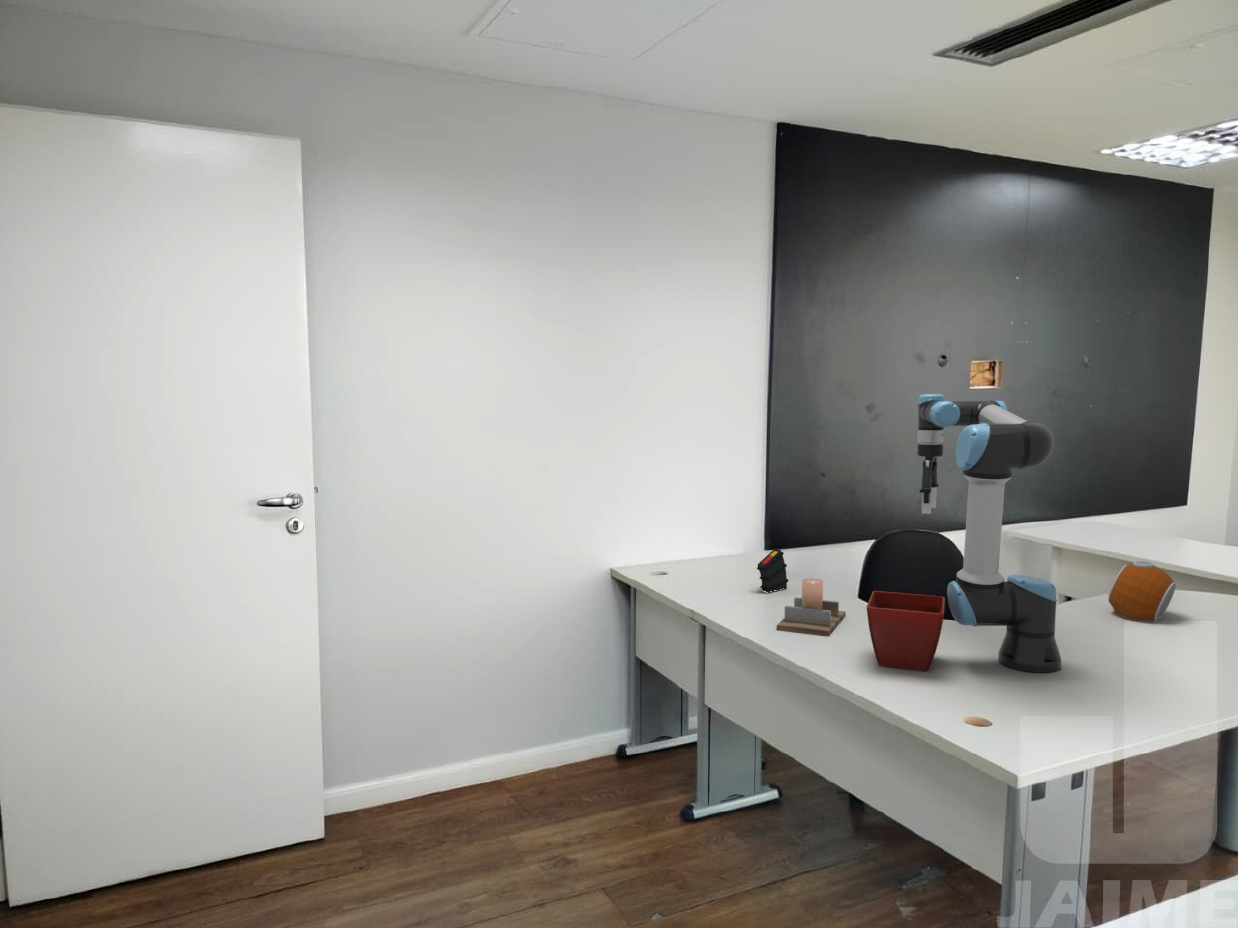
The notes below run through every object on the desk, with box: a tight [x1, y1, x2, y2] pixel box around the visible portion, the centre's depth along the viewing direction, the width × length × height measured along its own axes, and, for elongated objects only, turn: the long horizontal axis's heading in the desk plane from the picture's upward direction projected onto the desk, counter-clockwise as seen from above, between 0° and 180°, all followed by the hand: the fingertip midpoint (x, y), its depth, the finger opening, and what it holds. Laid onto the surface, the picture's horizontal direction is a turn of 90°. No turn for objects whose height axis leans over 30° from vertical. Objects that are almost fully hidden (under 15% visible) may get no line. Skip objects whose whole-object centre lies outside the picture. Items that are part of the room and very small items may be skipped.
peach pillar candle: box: [801, 578, 824, 610], centre depth 267 cm, size 6×6×12 cm
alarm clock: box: [1107, 560, 1177, 622], centre depth 269 cm, size 19×18×17 cm
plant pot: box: [866, 590, 946, 672], centre depth 228 cm, size 19×19×17 cm
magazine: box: [756, 548, 789, 592], centre depth 309 cm, size 4×13×15 cm, turn 130°
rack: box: [776, 597, 847, 637], centre depth 267 cm, size 24×16×6 cm, turn 154°
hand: (929, 510), depth 268 cm, fingers open, 13 cm apart
